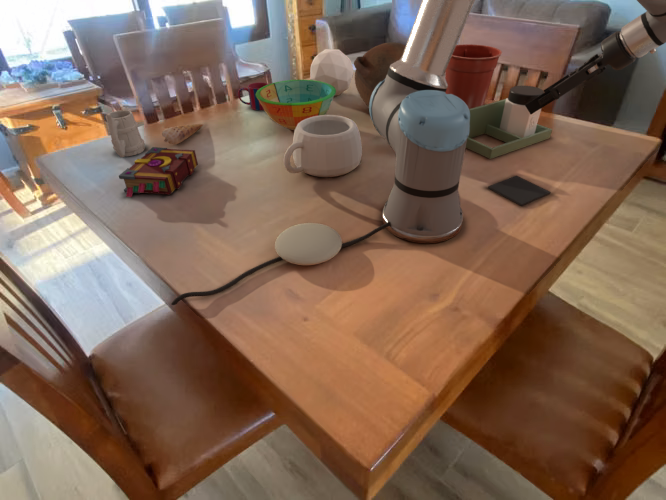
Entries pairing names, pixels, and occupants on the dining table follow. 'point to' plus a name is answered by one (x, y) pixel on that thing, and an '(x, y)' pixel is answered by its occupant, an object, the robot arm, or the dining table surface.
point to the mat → (519, 190)
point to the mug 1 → (124, 133)
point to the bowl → (295, 100)
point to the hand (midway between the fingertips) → (537, 101)
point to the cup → (253, 95)
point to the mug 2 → (325, 146)
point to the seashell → (180, 133)
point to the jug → (375, 67)
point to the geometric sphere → (332, 69)
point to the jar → (520, 111)
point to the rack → (498, 131)
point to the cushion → (308, 244)
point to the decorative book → (159, 171)
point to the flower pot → (471, 72)
